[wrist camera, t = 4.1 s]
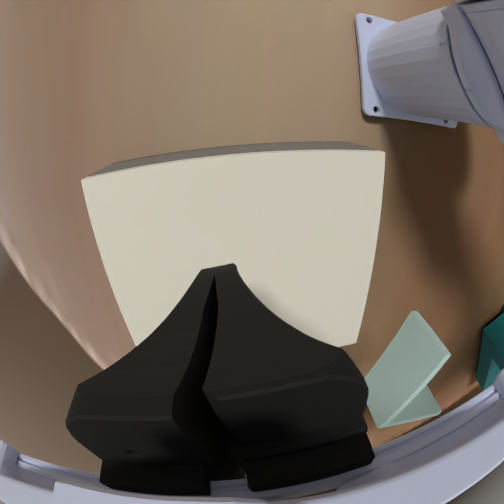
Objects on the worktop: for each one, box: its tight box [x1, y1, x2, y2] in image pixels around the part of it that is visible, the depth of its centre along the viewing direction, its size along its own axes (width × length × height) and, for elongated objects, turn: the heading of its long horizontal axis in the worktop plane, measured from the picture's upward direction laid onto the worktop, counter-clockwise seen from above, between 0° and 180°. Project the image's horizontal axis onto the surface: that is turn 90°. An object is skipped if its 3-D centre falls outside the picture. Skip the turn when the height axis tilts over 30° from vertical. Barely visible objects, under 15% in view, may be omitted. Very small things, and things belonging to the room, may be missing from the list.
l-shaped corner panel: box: [364, 311, 451, 429], centre depth 27 cm, size 12×12×8 cm
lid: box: [81, 149, 385, 347], centre depth 16 cm, size 16×14×1 cm
